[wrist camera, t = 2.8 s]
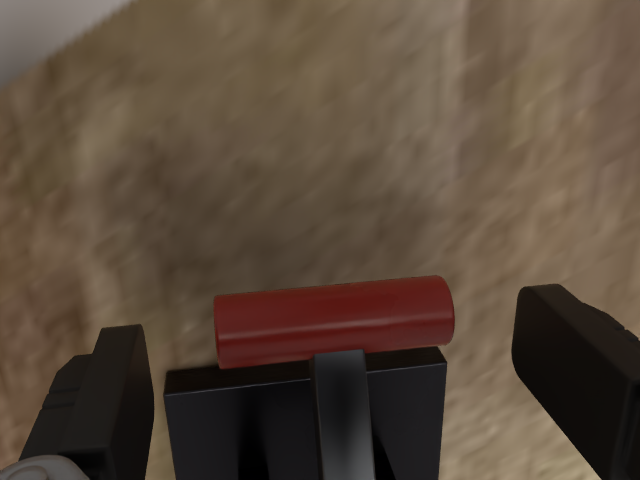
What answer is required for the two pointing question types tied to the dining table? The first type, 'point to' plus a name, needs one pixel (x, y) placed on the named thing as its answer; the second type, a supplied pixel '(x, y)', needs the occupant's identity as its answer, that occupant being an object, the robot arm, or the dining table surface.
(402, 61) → the dining table surface
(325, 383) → the lever
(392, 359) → the bracket
